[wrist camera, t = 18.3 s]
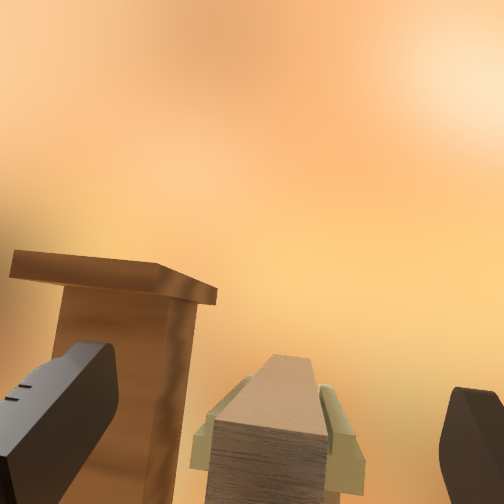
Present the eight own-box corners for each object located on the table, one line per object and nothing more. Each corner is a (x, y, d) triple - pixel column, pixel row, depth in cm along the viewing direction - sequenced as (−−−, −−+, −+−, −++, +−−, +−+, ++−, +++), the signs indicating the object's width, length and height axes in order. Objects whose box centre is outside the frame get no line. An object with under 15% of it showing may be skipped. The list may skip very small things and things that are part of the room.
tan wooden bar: (318, 564, 10) (328, 435, 11) (200, 542, 11) (214, 419, 11) (306, 396, 34) (310, 358, 34) (269, 391, 34) (273, 354, 35)
